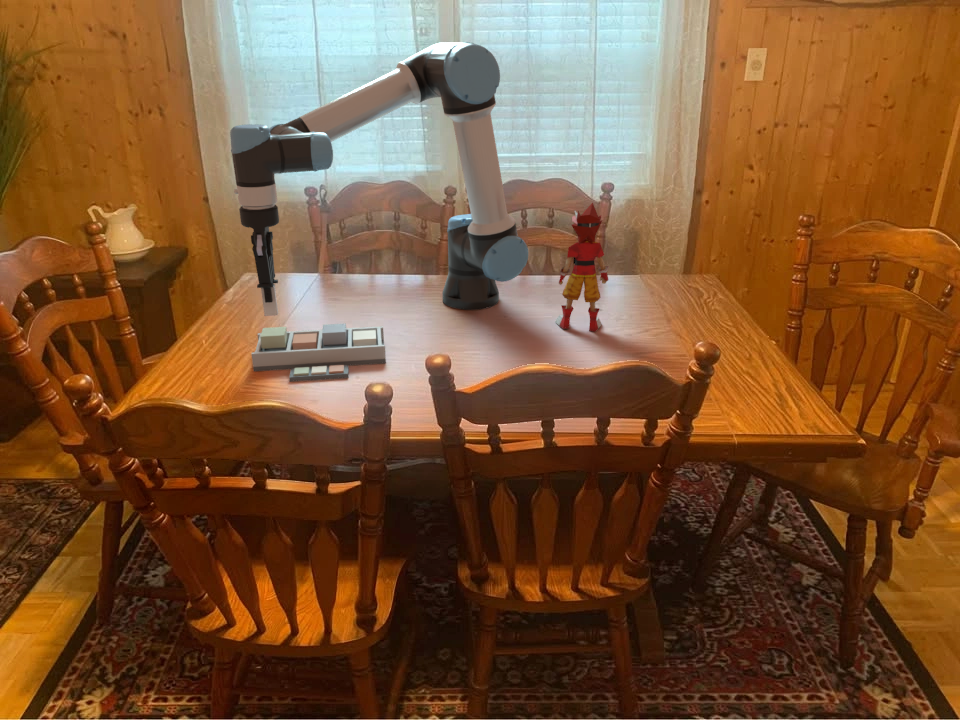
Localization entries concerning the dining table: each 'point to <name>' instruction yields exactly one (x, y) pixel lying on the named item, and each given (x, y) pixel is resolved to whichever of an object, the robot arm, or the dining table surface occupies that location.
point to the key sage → (274, 337)
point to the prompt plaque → (319, 373)
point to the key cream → (364, 338)
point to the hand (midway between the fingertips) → (271, 314)
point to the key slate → (334, 334)
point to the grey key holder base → (319, 352)
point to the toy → (583, 268)
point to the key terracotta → (305, 341)
